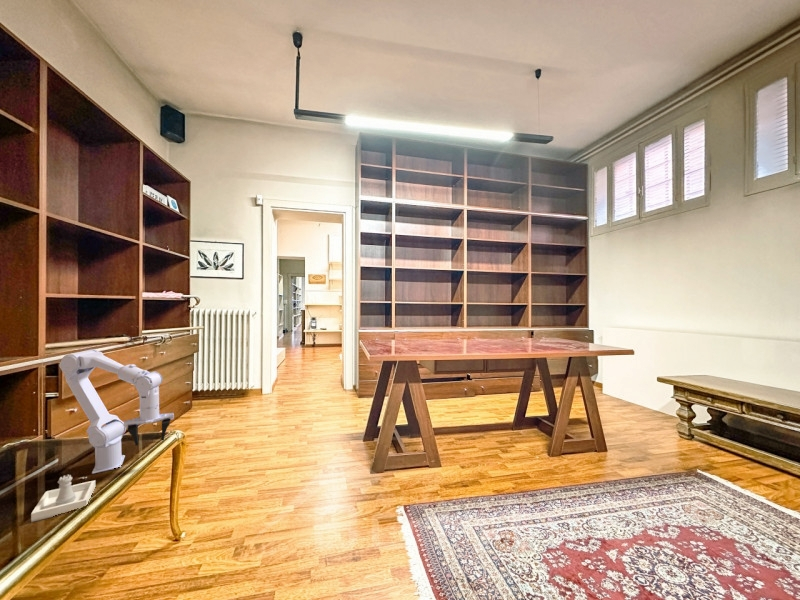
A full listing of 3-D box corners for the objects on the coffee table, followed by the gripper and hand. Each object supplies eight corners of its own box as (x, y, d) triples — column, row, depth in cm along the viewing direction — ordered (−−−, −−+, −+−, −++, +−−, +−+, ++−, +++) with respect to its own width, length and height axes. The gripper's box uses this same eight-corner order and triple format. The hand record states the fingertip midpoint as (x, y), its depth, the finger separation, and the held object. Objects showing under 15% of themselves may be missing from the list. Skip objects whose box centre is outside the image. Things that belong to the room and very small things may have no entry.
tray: (46, 499, 103) (45, 491, 103) (95, 487, 110) (95, 480, 109) (31, 522, 94) (31, 513, 93) (86, 507, 100) (86, 499, 100)
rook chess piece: (75, 495, 105) (75, 471, 104) (76, 502, 101) (75, 477, 101) (55, 501, 101) (54, 476, 101) (55, 509, 98) (54, 483, 98)
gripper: (122, 413, 114) (123, 451, 115) (173, 405, 122) (173, 441, 123) (125, 406, 120) (126, 443, 121) (173, 399, 128) (174, 433, 128)
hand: (150, 441), depth 122 cm, fingers open, 7 cm apart
